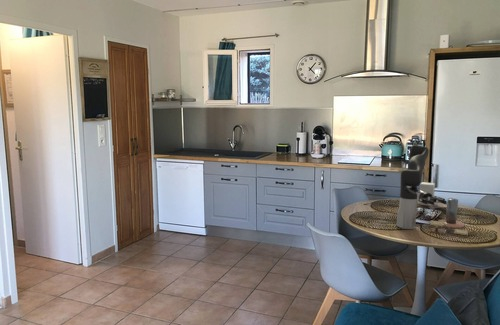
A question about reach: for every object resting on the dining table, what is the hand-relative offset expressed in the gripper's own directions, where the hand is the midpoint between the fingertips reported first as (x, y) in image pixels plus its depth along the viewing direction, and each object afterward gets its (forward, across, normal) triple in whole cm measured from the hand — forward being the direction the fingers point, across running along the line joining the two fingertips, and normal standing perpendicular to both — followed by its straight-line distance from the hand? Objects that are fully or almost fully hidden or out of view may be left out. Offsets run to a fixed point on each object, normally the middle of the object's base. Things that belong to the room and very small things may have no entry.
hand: (439, 203), depth 250 cm
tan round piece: (+11, 0, +10) cm, 15 cm away
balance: (+25, -13, +10) cm, 30 cm away
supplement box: (-38, +18, +11) cm, 43 cm away
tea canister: (+11, 0, +9) cm, 14 cm away
